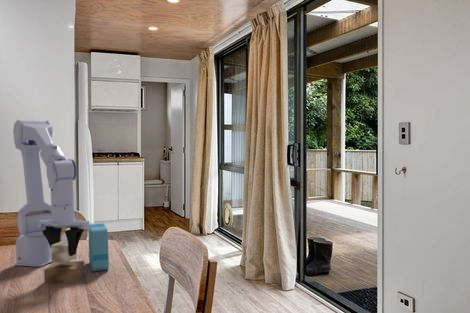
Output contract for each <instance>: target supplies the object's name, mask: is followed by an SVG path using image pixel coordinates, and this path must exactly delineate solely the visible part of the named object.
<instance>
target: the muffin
mask: <svg viewBox="0 0 470 313" xmlns="http://www.w3.org/2000/svg"><path fill="white" fill-rule="evenodd" d="M69 229H70V228H65V230H64V233H63V234H62V235H61V236H60V241H67V237H66V234H65V231H66V230H69ZM67 242H68V241H67Z"/></svg>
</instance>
